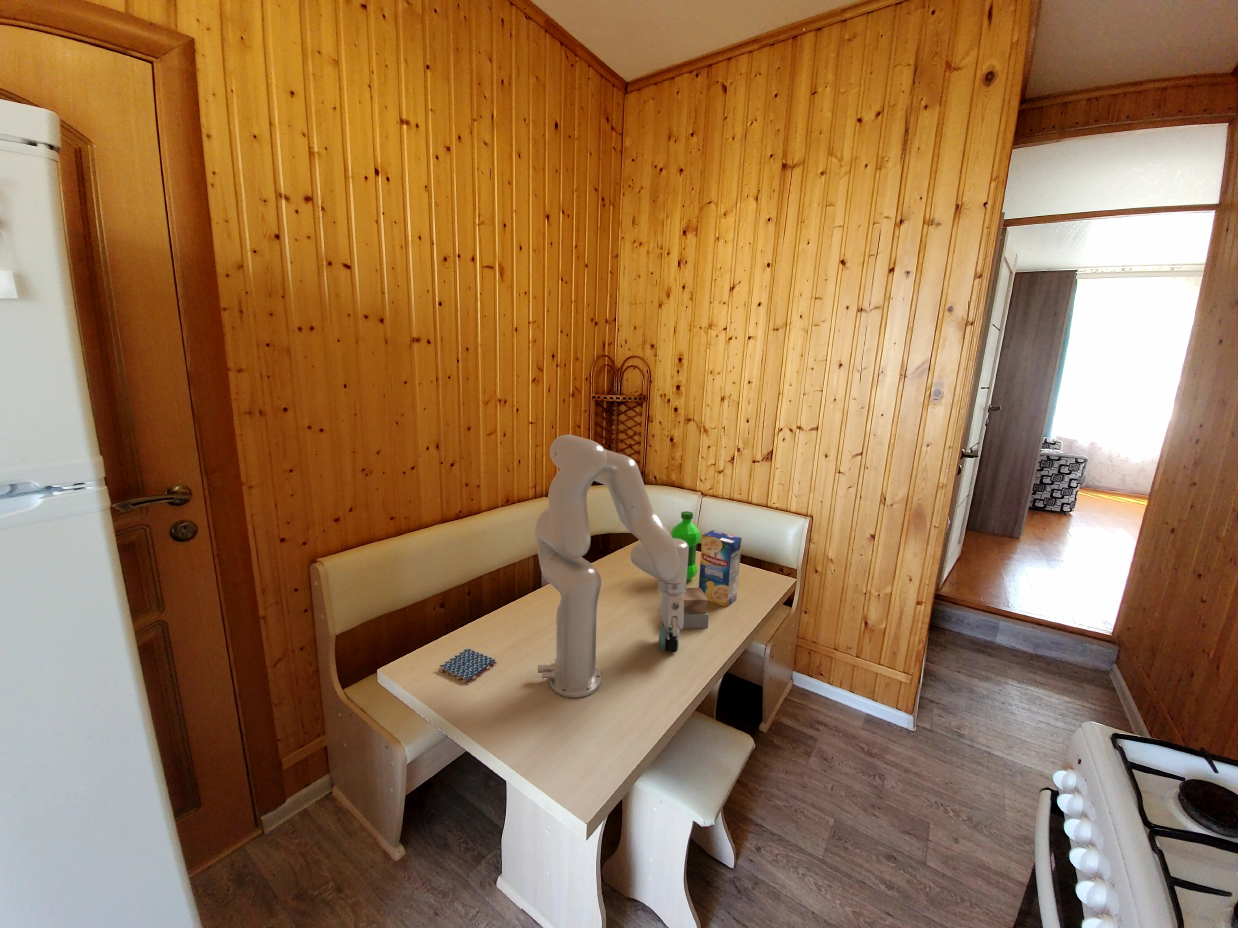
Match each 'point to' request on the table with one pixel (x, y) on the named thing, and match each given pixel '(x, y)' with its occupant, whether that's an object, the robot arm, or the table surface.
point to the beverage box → (720, 567)
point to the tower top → (695, 601)
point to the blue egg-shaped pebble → (664, 635)
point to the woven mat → (468, 665)
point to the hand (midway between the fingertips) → (668, 644)
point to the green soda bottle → (688, 540)
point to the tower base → (695, 620)
